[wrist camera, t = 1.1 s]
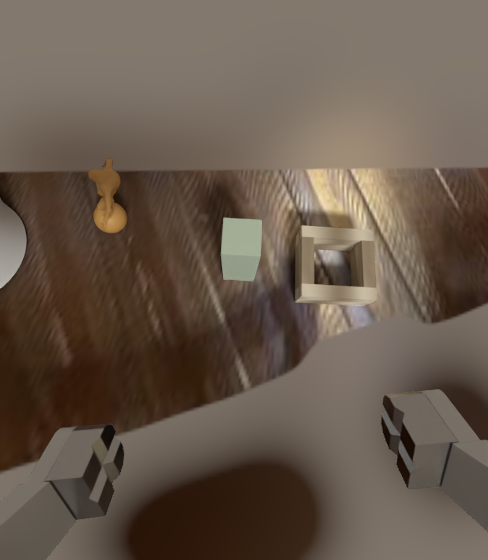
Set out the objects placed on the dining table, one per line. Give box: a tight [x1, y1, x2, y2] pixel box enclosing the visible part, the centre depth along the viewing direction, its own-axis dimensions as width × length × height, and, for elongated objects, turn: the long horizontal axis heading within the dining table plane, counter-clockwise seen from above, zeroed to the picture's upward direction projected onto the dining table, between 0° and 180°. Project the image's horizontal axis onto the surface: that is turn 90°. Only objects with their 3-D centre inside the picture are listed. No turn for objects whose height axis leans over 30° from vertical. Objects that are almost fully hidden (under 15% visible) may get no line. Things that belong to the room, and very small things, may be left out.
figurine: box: [88, 158, 127, 233], centre depth 37 cm, size 8×6×12 cm
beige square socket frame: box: [295, 226, 377, 306], centre depth 40 cm, size 9×9×4 cm
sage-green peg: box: [221, 218, 262, 281], centre depth 37 cm, size 4×4×10 cm
